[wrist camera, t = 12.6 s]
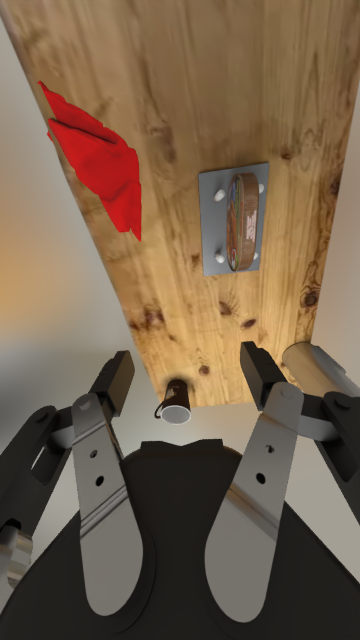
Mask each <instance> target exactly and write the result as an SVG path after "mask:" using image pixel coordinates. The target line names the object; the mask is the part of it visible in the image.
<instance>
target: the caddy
mask: <svg viewBox="0 0 360 640" xmlns="http://www.w3.org/2000/svg"><path fill="white" fill-rule="evenodd" d="M248 172H251V173H254V174H255V176H256V177H257V180H258V184H259V209H258V223H257V236H256V247H255V255H254V259H253V262H252V264H251V266H250V267H249V268H248V269H246V270H242V271H236V272H245V271H255V270H259V264H260V254H261V243H262V233H263V223H264V213H265V203H266V192H267V182H268V172H269V163H264V164H258V165H251V166H245V167H239V168H232V169H226V170H219V171H213V172H206V173H200V174H198V181H199V201H200V220H201V239H202V258H203V275H204V276H209V275H218V274H227V273H236V272H233V271H232V270H231V269H230V267H229V264H228V259H227V196H228V190H229V186H230V182H231V179H232V177H233V176H234V174H236V173H239V174H241V173H248Z"/></svg>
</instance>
